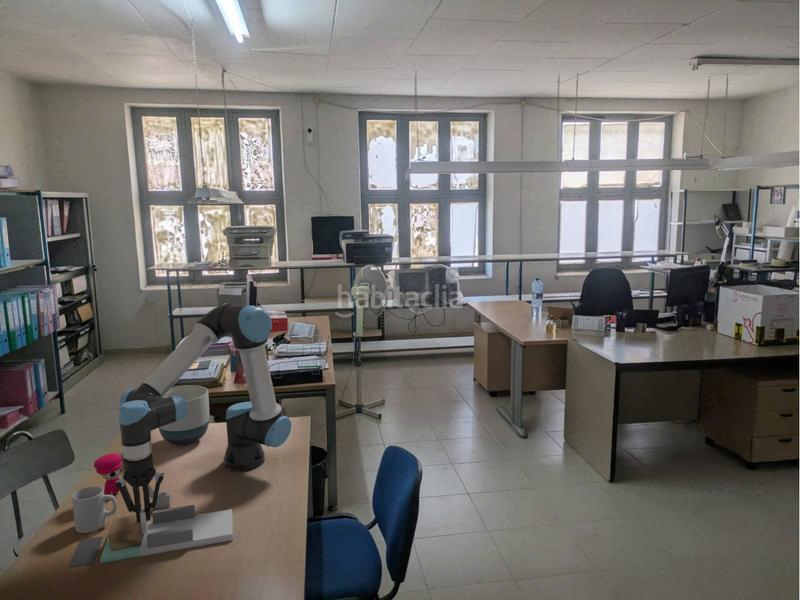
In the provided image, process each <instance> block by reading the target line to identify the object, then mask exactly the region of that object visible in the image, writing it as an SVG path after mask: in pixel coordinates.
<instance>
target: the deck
mask: <svg viewBox="0 0 800 600" xmlns="http://www.w3.org/2000/svg"><path fill="white" fill-rule="evenodd" d="M151 517H152V521H148V531H147V533H144V537H143V540H142V544H141V547H140V556H139V557H143V556H149V555H150V556H151V555H156V554H161V553H166V552H173V551H177V550H178V551H179V550H184V549H191V548H195V547H201V546H206V545H213V544H214V545H215V544H218V543H225V542H230V541H234V530H233V529H234V527H233V526H234V525H233V522H234V521H233V520H234V519H233V509H232V508H229V509H226V510H217V511H212V512H205V513H199V514H196V505H195V504H191V505H184V506H183V505H182V506H178V507H177V506H176V507H168V508H162V509H156V510H152V513H151Z"/></svg>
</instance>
